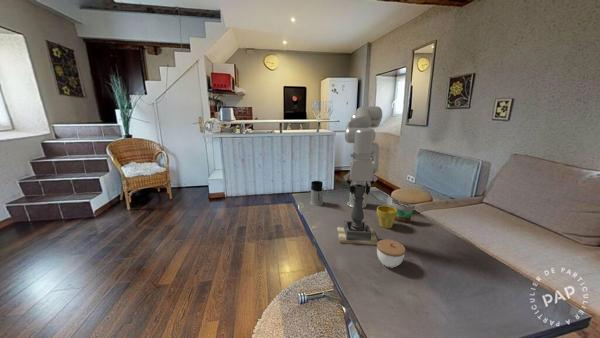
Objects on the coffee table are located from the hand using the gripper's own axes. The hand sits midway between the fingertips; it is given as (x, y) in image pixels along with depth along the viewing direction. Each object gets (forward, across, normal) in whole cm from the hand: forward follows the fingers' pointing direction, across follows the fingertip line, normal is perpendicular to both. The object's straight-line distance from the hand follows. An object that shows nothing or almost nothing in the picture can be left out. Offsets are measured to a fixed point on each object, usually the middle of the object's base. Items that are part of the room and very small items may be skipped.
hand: (359, 193), depth 108 cm
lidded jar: (+23, +10, -20) cm, 32 cm away
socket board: (+23, 0, 0) cm, 23 cm away
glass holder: (+23, -18, +40) cm, 50 cm away
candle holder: (+22, 0, 0) cm, 22 cm away
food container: (+23, +29, +19) cm, 42 cm away
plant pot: (+23, +18, +13) cm, 32 cm away
